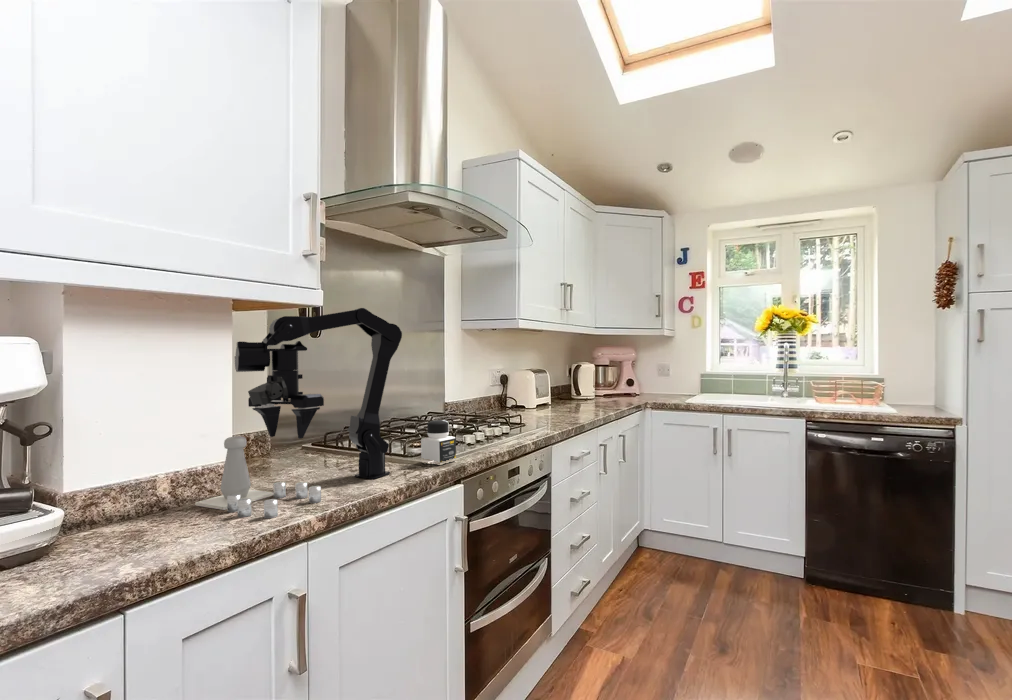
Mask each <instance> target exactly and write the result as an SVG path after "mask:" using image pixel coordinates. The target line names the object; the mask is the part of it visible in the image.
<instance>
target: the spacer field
mask: <svg viewBox="0 0 1012 700" xmlns="http://www.w3.org/2000/svg"><path fill="white" fill-rule="evenodd" d="M286 483H287V482H286V481H277V482H273V492H274V495H273V498H271V499H270V498H269V499H266V500H263V518H264V519H273V518H277V517H278V515H279V513H278V512H279V510H278V509H279V505H278V504H279V502H278V501H279V500H278V499H282V498H286V495H287V494H286V493H287V492H286V488H287V487H286V485H287V484H286ZM305 498H308V503H310V504H317V503H321V502H322V486H321V485H312V486H309V487H308V482H307V481H301V482H296V483H295V499H297V500H299V499H300V500H301V499H305ZM226 510H227V512H228V513H236V512H237V518H247V517H250V516H252V502H251V498H244V499H241V494H232V495H229V496H227V509H226Z"/></svg>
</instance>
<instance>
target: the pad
mask: <svg viewBox="0 0 1012 700" xmlns="http://www.w3.org/2000/svg"><path fill="white" fill-rule="evenodd" d="M272 496H274V491H273V492H272V491H268V490H267V491H265V490H259V489H258V490H256V489H251V488H250V489H249V491H248V494H247V496H246V497H244V498H251V503H253V502H255V501H259V500H262V499H265V498H269V497H272ZM244 498H241V499H244ZM194 503H195V505H194V506H197V507H204V508H210V509H216V510H221V511H224V510H227V499H225V498H224V496H223V494H222V495H218V496H214V497H211V498H207V499H203V500H200V501H196V502H194Z"/></svg>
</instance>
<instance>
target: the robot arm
mask: <svg viewBox="0 0 1012 700" xmlns="http://www.w3.org/2000/svg"><path fill="white" fill-rule="evenodd" d="M353 325H356V326H357V327H359V328H360V329H361V331H363V332H364V333H365V334H366V335H368V336H369V337H370V338H371V342H370V343H371V345H370V347H371V353H372V359H371V364H370V368H369V372H368V375H367V381H366V385H365V389H364V394H363V397H362V399H363V400H362V404H361V408H360V410H359V412H358V413H357V415H350V419H349V420H350V423H349V425H348V428H347V430H346V431H347V432H348V433H349V434H348V437H349V440H350V441H351V443H352V444H353V445H355V446H356V449H357V450H358V451H359V455H358V473H356V474H354V477H355V478H361V479H371V480H372V479H374V480H375V479H378V478H381V477H383V476H384V477H385V476H387V475H390V474H391V472H390V471H387V470H386V453H388V450H389V447H390V444H389V443H388V441H386V440H385V439H384V438H383V437H382V436H381V421H380V413H379V412H380V408H381V403H382V401H383V400H382V398H383V394H384V389H385V385H386V382H387V376H388V371H389V368H390V364H391V360H392V357H393V356H394V355H395V353H396V352H397V350H398V348H399V345H400V343H401V341H402V338H403V331H402V330H401V328H400V327H399V326H398V325H397V324H395V323H390V322H388V321H387V320H385V319H384V318H381V317H380V316H377V315H375V314H374V313H372V312H371V311H370V310H368V309H367V308H365V307H359V308H356V309H352V310H347V311H340V312H334V313H328V314H322V315H321V314H320V315H315V316H301V315H300V316H299V315H298V316H297V315H295V316H294V315H290V316H288V315H286V316H284V315H283V316H281V317H279V318H275V319H274V320H273V321H272V322H271V323H270V325H269V328H268V329H269V330H268V331H269V332H268V333H267V335H266V336H265V337H264V338H263V339H262V341H261V342H258V341H257V342H254V341H253V342H250V341H249V342H248V341H237V342H236V349H235V356H234V368H235V369H234V370H235V371H236V373H243V372H244V373H247V372H248V373H249V372H264V371H265V370H266V368H267V367H270V364H271V375H269V374H268V375H267V377H266V382H265V383H263V384H259V385H258V386H256V387H254V388H251V389H250V390H248V391H247V392H248V395H249V397H248V408H250V407H251V409H252V411H255V412H257V413H258V414H260V416H261V417H262V419H263V422H264V425H265V427H266V429H267V430H266V431H267V432H268V435H269V437H270V438H273V437H275V436H276V433H277V429H278V425H279V424H278V423H279V417H280V413H281V408H282V407H281V405H291V406H293V409H292V408H291V411H292V413H293V414H294V415H295V417H296V418H295V419H296V432H297V438H298V439H299V440H301V439H303V438H304V437H305V434H306V432H307V430H308V428H309V426H310V424H311V423H312V419H313V418H314V416H315V414H316V412H317V411H319V410H320V409H321V407H323V406H324V405H325V402H324V401H325V399H324V396H323V394H321V393H304V391H300V390H299V389H300V387H299V385H300V383H299V382H300V381H299V380H300V379H301V380H302V379H303V373H302V374H299V352H306V351H308V347H306V346H305V345H304V343H302V341H301V340H298V341H297V339H299V338H301V337H304V336H305V337H306V336H308V335H310V334H312V333H315V332H320V331H325V330H326V331H327V330H330V329H331V330H332V329H336V328H342V327H347V326H353ZM293 340H296V342H295V343H294V344H293V343H288V344H287V343H286V342H290V341H293ZM280 343H282V344H281V345H280V348H268V347H272V346H277V345H279V344H280Z"/></svg>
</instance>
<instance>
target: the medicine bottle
mask: <svg viewBox="0 0 1012 700" xmlns="http://www.w3.org/2000/svg"><path fill="white" fill-rule="evenodd" d="M449 427H450V424H449V422H448V421H447V420H445V419H443V420H442V419H436V420H430V421H427V436H428V437H424V438H420V439H421V440H420V452H421V454H420V455H421V457H420V458H424V459H430V460H434V461H438V462H442V461H446V460H449V459H453V458H456V459H457V450H456V444H457V442H456V437H455V436H452V435H451V436H450V435H449V434H450V433H449V432H450V428H449Z"/></svg>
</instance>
